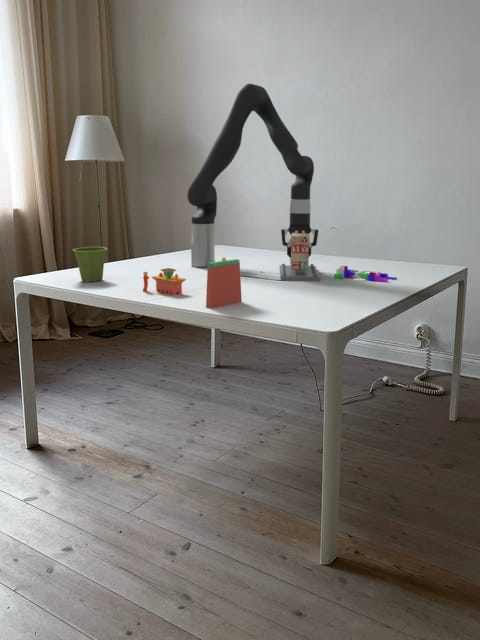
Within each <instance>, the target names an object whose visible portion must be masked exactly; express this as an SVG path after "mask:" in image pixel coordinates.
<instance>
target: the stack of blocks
mask: <svg viewBox="0 0 480 640" xmlns="http://www.w3.org/2000/svg"><path fill="white" fill-rule="evenodd" d="M291 237H292V242H291V257H289V262H290V263H289V264H290V265H291V270H308V266H309V258H310V256H309V241H310V233H309V234H308V233H292V235H291V234H290V238H291Z"/></svg>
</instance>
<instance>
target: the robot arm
mask: <svg viewBox="0 0 480 640" xmlns="http://www.w3.org/2000/svg"><path fill="white" fill-rule="evenodd" d="M252 112H255V114H256V115H257V116H258V117H259V118H260V119H261V121H263V123H264V124H265V127H266V128H267V129H266V130H267V132H268V135H269V138H270V140H271V141H272V144H274V146H275V147H276V149H277V151H278V152H279V153H280V155H281V157H282V160H283V162H284V164H285V166H286V168H287V171H289V172H290V174H292V175H293V176H295V181H294V183H292V184H291V187H290V188H291V189H290V202H289V226H288V228H282V229H280V232H281V243H282V246H285V247H286V256H287V257H288V258H290V257H291V242H292V237H291V235H292V233H308V234H309V235H310V234H311V233H312V235H313V239H312V242H311V241H310V240H309V257H311V256H312V248H313V247H315V246H317V242H318V235H319V229H317V228H312V227H311V185H312V183H313V177H314V174H315V172H314V171H315V166H314V164H315V163H314V160H313V159H312V158H311V157H310V156H308V155H302V154H301V153H300V151H299V144H298V142H297V140H296V139H295V138H294V136H293V135H292V133H291V132H290V130H289V128H288V127H287V126H286V125H285V123H284V122H283V120H282V119H281V117H280V115H279V114H278V111H277V110H276V107H275V106H274V104H273V101H272V99H271V97H270V95H269V93H268V91H267V90H266V88H264V87H263V86H261V85H258V84H254V83H246V84H244V85H242V86H241V87H240V88H239V90H238V92H237V94H236V97H235V99H234V102H233V104H232V107H231V109H230V111H229V114H228V116H227V118H226V119H225V122H224V124H223V126H222V129H221V130H220V132H219V134H218V135H217V137H216V139H215V141H214V143H213V145H212V147H211V149H210V152H209V153H208V155H207V157H206V159H205V161H204V163H203V165H202V166H201V169H200V170H199V172H198V173H197V175H196V177H194V179H193V181H192V183H190V185H189V188H188V191H187V193H186V197H187V200H188V203H189V204H190V205H192V206H193V207H196V210H195V213H194V214H193V215H192V216H191V243H190V249H191V250H190V253H191V255H190V256H191V258H190V259H191V260H190V261H191V262H190V263H191V264H190V265H191V267H196V268H208V267H207V266H208V264H207V263H211V262H216V260H215V259H216V258H215V257H216V256H215V253H216V250H215V249H216V248H215V247H216V246H215V245H216V244H215V233H216V232H215V219H216V217H217V209H218V208H217V205H218V204H217V203H218V194H217V189H216V187H215V185H214V182H215V180H216V179H217V178H218V176H220V174H221V173H222V172H224V171H225V170H226V169H227V168H228V167H229V165H230V164H232V161H234V158H235V157H236V155H237V153H238V152H239V149H240V147H241V145H242V138H243V132H244V131H243V130H244V127H245V124H246V122H247V119H249V116H250V115H251V113H252ZM288 233H289V235H290V237H289V240H288V242H286V236H287V235H288Z"/></svg>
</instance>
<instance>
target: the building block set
mask: <svg viewBox="0 0 480 640" xmlns="http://www.w3.org/2000/svg"><path fill="white" fill-rule="evenodd" d="M348 268H349V266H347V265H341V266H339V267H338V268H337V269H336V270H335V271H336V273H333V272H325V273H322V274H321V277H328V278H333V279H334V280H340V279H353V280H354V281H355V282H359V283H361V282H367V281H369V282H378V283H388V282H389V279H391V280H390V281H394V279H395V280H397V277H396V276H395V277H394V276H389V273H385V272H378V271H377V272H376V271H375V272H374V271H368V270H367V271H365V270H364V271H359V270H356V269H348Z"/></svg>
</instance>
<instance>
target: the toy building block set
mask: <svg viewBox="0 0 480 640" xmlns="http://www.w3.org/2000/svg"><path fill="white" fill-rule="evenodd" d="M207 264H208V266H207V267H206V268H207V274H206V275H207V276H206V298H205V299H206V301H205V308H206V307H207V309H214V307H215V308H220V307H224V305H225V306H230V305H234V304H238V303H242V302H243V301H242V282H241V281H242V280H241V265H240V264H241V262H240V259H237V258H235V259H228V260H227V258H226V257H224V256H223V257H222V258H221V260H219V261H215V262H211V263H207ZM160 271H161V272H159V273H158V275H155V276H154V275H153V276H152V275H151V278H152V280H155V292H160V293H164V294H168V295H172V296H177V294H178V295H182V294H183V287H182V285H183V282H186V280H187V278H183V277H180V276H179V275H178V274H175V275H174V273H175V272H176V271H177V269H175V268H171V267H169V268H168V267H167V268H162V269H160ZM142 274H143V288H142V292H147V291H148V288H149V281H148V280H149V279H150V276H149V274H148V271H143V273H142ZM173 275H174V276H173ZM219 306H220V307H219Z"/></svg>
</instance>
